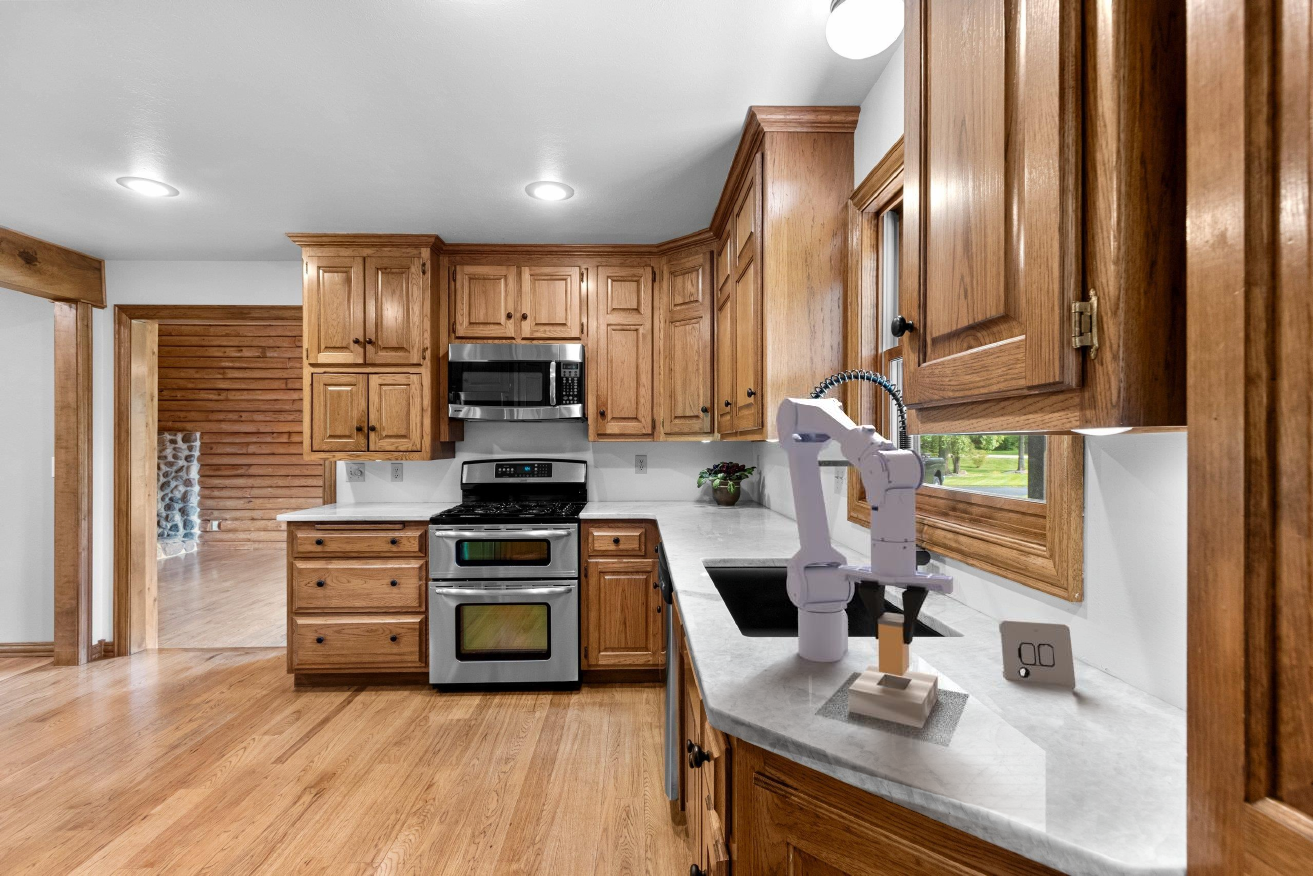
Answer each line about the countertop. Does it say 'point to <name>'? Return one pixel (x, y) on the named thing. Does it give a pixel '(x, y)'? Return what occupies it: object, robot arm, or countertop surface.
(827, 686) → the countertop surface
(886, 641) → the plug
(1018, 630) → the electrical switch
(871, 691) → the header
